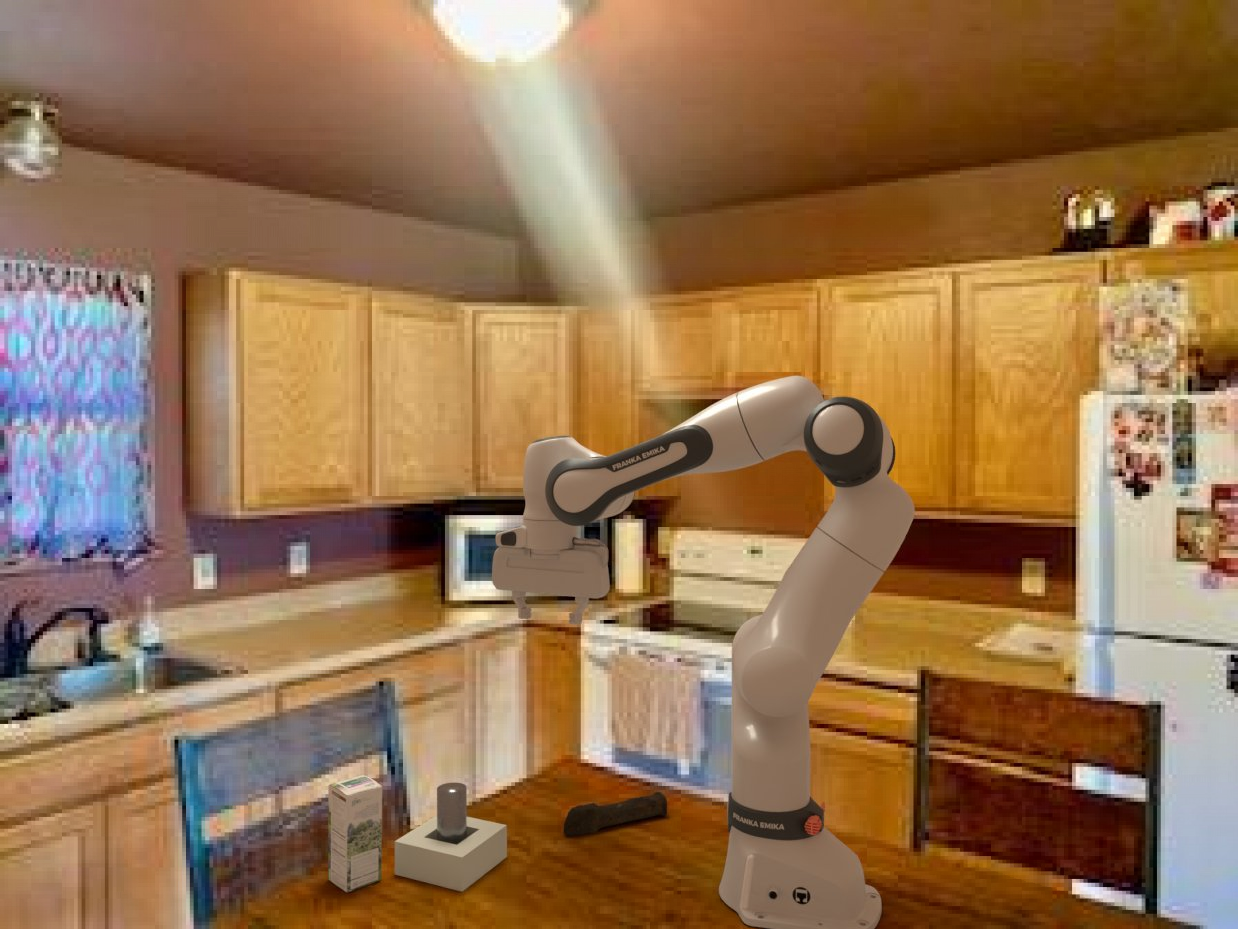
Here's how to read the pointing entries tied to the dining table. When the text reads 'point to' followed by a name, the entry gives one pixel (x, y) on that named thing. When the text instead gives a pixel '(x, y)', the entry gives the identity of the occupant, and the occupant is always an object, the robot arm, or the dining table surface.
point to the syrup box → (354, 833)
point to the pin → (452, 813)
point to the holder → (451, 854)
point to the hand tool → (613, 814)
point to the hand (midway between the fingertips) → (549, 621)
